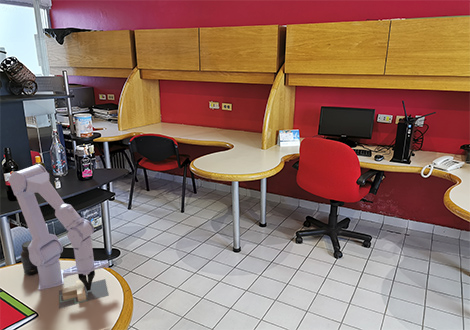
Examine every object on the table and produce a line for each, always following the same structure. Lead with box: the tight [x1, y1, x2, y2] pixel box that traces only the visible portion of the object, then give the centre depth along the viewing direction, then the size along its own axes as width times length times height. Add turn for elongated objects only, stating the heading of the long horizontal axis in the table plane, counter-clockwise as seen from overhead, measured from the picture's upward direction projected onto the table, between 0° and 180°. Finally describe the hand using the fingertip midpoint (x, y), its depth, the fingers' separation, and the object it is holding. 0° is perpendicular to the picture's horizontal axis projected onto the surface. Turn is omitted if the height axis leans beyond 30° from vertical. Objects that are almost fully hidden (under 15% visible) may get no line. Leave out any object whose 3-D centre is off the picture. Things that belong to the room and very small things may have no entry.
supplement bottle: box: [20, 240, 39, 277], centre depth 132 cm, size 7×7×12 cm
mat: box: [58, 278, 109, 310], centre depth 122 cm, size 10×16×1 cm, turn 116°
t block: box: [61, 279, 86, 302], centre depth 120 cm, size 8×7×3 cm
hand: (88, 288), depth 123 cm, fingers closed
